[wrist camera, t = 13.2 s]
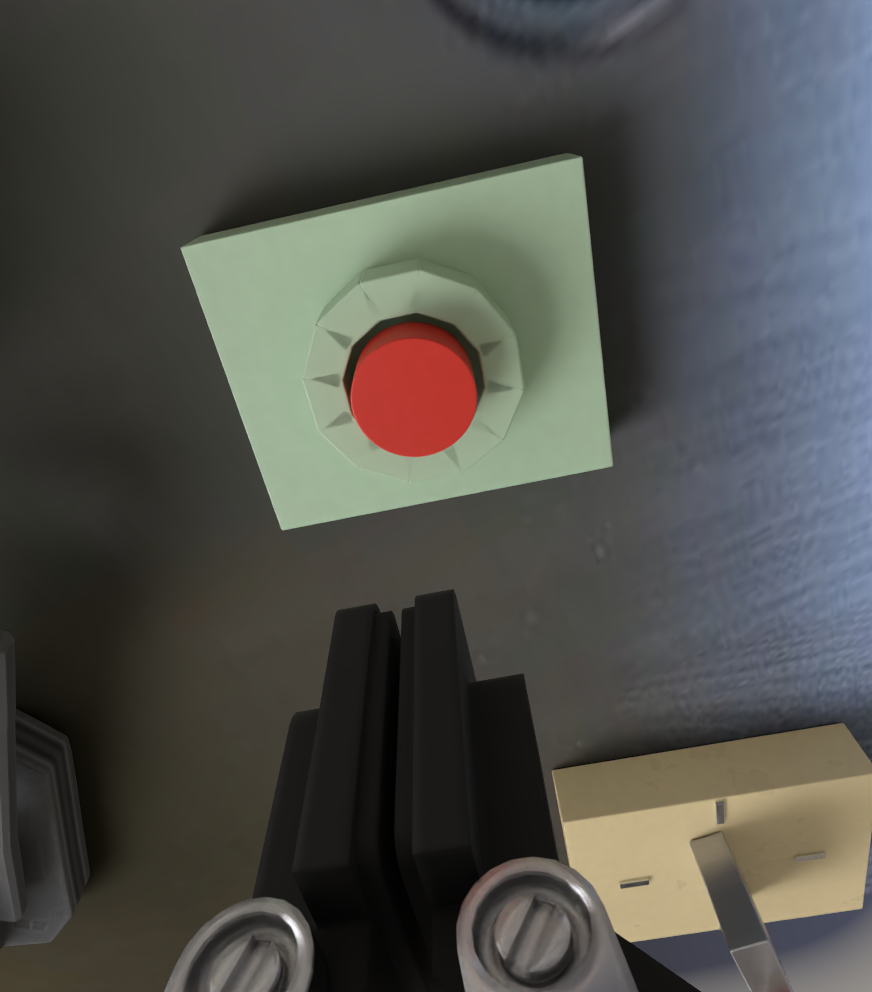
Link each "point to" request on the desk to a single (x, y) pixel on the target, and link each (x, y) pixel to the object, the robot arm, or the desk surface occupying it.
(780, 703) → the desk surface
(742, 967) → the metal bar
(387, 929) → the robot arm
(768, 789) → the beige lever base
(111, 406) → the desk surface
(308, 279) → the block
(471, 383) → the button
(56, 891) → the zipper pull
